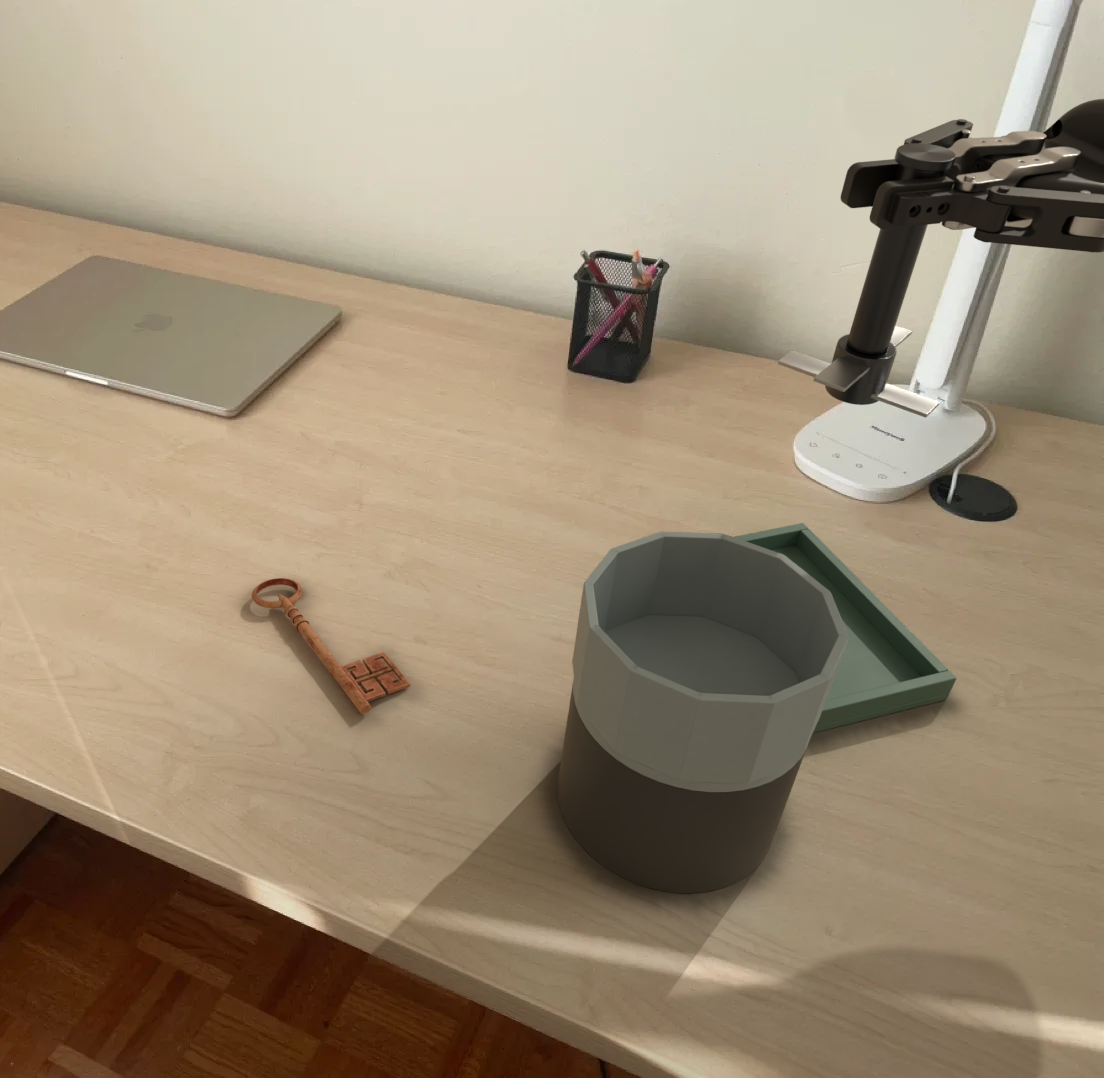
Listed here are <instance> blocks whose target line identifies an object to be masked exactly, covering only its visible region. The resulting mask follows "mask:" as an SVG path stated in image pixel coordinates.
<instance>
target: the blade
mask: <svg viewBox="0 0 1104 1078" xmlns="http://www.w3.org/2000/svg"><path fill="white" fill-rule="evenodd" d="M894 159H895V161H896V162H897V163H898V164H899V166H898V169H897V173H896V176H895V180H894V181H899V180H910V179H921V178H934V177H942V176H944V173H945V170H948V169H950V168H952V167H953V165H954V162H955V159H956V154H955V153H954V152H953V151H951V150H949V149H947V148H944V147H941V146H937V145H931V144H921V143H913V144H905V145H904V144H902V145H899V146H898V147H897V148H896V151H895V154H894ZM928 225H929V224H928ZM928 225H918V226H908V227H898V228H888V229H880V228H879V231H878V235H877V238H876V241H875V245H874V248H873V252H872V255H871V259H870V262H869V265H868V269H867V272H866V275H865V279H864V283H863V285H862V286H863V287H862V290H861V293H860V297H859V299H858V304H857V308H856V310H855V314H854V316H853V321H852V324H851V327H850V330H849V333H848V334H845V335H842V336H841V337H840V338H839V339H838V340H837V342H836V346H835V350H834V353H833V355H832V356H833V357H832V360H831V362H827V361H824V360H822V359H819V358H816V357H813V356H810V355H808V354H804V353H801V352H798V351H796V350H793V349H792V350H791V351H789V352H787V353H786V354H785V355H784V356H783V357H781V358H780V359H779V360H778V361H777V365H779V366H781V367H784V368H788V369H790V370H793V371H795V372H797V373H798V372H799V373H801V374H804V375H806V376H810V377H812V378H813V382H815V383H818V384H820V385H823V386H824V387H825V391H826V392H827V393H828V394H829V395H830V396H831V397H832V398H834V399H836V400H838V401H840V402H843V403H846V404H849V405H857V406H867V405H873V404H876V403H878V402H882V403H884V404H886V405H890V406H893V407H895V408H898V409H901V410H904V411H906V412H909V413H912V414H915V415H918V416H920V417H923V418H928V417H929V416H930V414H932V413H933V412H934V411H935V410H936V409H937V408H938V407H939V406H940V404H941V403H940V401H938V400H935V399H932V398H930V397H927V396H924V395H922V394H918V393H917V392H916V393H915V392H913V391H910V390H907V389H904V388H902V387H900V386H899V387H898V386H896V385H893V384H891V383H888V380H889V378H890V374H891V372H892V368H893V365H894V362H895V359H896V356H897V354H898V353H897V352H898V351H897V347H898V346H900V345H901V344H902V343H903V342H904V341H905V340H907V339H908V338H909V337H910V336H912V334H913V330H910V329H907V328H905V327H902V326H898V325H897V322H898V319H899V316H900V312H901V309H902V306H903V303H904V300H905V298H906V294H907V291H908V287H909V284H910V282H911V278H912V275H913V273H914V269H915V266H916V263H917V259H918V257H919V253H920V250H921V247H922V244H923V241H924V237H925V235H926V232H927V229H928Z"/></svg>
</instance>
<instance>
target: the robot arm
mask: <svg viewBox="0 0 1104 1078" xmlns="http://www.w3.org/2000/svg"><path fill="white" fill-rule="evenodd" d="M973 126H974V123H973V122H972V121H969V120H968V119H963V118H957V119H952V120H950V121H947V122H945V123H942V124H940V125H938V126H937V125H936V126H935V127H932V128H930V129H927V130H925V131H923V132H920V133H918V134H914V135H912V136H910V137H908V138H905V139H904V142H903V145H905V144H913V143H921V144H931V145H937V146H941V147H944V148H947V149H949V150H951V151H953V152H954V153H955V154H956V159H955V162H954V165H953V167H952V168H950V169H948V170H945V173H944V176H942V177H934V178H921V179H910V180H899V181H894V180H895V176H896V173H897V169H898V166H899V164H898V163H897V162H896V161H895V158H891V159H881V160H869V161H858V162H855V163H853V164H851V165H850V166H849V168H847V171H846V174H845V178H844V182H843V186H842V190H841V193H840V202H842V204H844V205H845V206H847V207H848V208H850V209H861V208H870V207H871V210H870V214H869V221H870V223H872V224H873V225H874V226H876V227H877V228H878V229H879V230H880V229H888V228H898V227H908V226H918V225H937V224H941V226H942V227H943V228H946V229H949V230H951V231H960V230H967V229H974V228H975V230H974V233H973V238H974V239H976V240H977V241H980V242H983V243H990V244H991V243H992V244H1001V245H1002V244H1003V245H1013V246H1023V247H1024V246H1025V247H1032V248H1033V247H1034V248H1042V249H1043V248H1045V249H1056V250H1066V251H1077V252H1086V253H1087V252H1088V253H1103V252H1104V98H1098V99H1091V100H1087V101H1086V102H1081V103H1080V104H1078V105H1076V106H1074V107H1072V108H1070V109H1069V110H1068V111H1066V112H1065V113H1063V114H1062V115H1061V116H1060V117H1059V118H1058V119H1057V120H1056V121H1055V122H1054V123H1053V124H1052V125H1050V126H1049V127H1048V128H1047V129H1045V131H1044V132H1040V131H1035V130H1017V131H1011V132H1009V133H1007V134H1006V135H1002V136H990V137H989V136H988V137H970V136H971V133H972V130H973Z"/></svg>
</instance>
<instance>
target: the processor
mask: <svg viewBox="0 0 1104 1078" xmlns="http://www.w3.org/2000/svg"><path fill="white" fill-rule="evenodd" d="M734 537H735V536H731V535H728V534H725V533H720V532H719V533H718V532H714V533H713V532H693V531H691V532H690V531H689V532H688V531H658V532H656V533H652V534H650V535H647V536H643V537H640V538H639V539H638V538H637V539H635V540H632V541H630V542H626V543H624V544H620V545H618V546H615V547H611V548H610V549H609V550H608V552H607V553H606V554H605V555H604V557H603V558H602V560H601V561H600V562H599V563H598V564H597V566H596V567H594V569H593V571H592V572H591V573H590V574H589V576H588V577H587V578H586V579H585V581H584V582H583V585H582V594H581V600H580V607H579V614H578V618H577V619H578V620H577V628H576V634H575V640H574V648H573V654H572V661H571V662H572V673H573V679H572V685H571V691H570V699H569V705H568V712H567V719H566V725H565V733H564V739H563V745H562V752H561V759H560V766H559V772H558V777H557V798H558V799H557V800H558V804H559V805H558V806H559V808H560V811H561V815H562V818H563V820H564V822H565V824H566V826H567V828H568V829H569V831H570V833H571V834H572V836H573V837H574V838H575V840H576V841H577V843H578V844H579V845H580V846H581V847H582V848H583V850H584V851H585V852H586V853H587V854H588V855H590V857H592V858H593V859H594V860H595V861H596V862H597V863H599V864H600V865H602V866H603V867H604V868H606V869H607V870H609V871H610V872H612V873H613V874H615V875H617V876H619V877H621V878H623V879H625V880H627V881H630V882H632V883H634V884H637V885H640V886H643V887H645V888H649V889H652V890H657V891H661V892H666V893H667V892H668V893H676V894H700V893H707V892H713V891H716V890H720V889H724V888H727V887H729V886H731V885H734V884H736V883H738V882H739V881H741V880H743V879H745V878H746V877H748V876H749V875H750V874H751V873H753V872H754V870H756V869H757V868H758V867H759V866H760V865H761V863H762V862H763V861H764V860H765V858H766V857H767V854H768V853H769V851H770V849H771V847H772V843H773V842H774V838H775V836H776V832H777V830H778V827H779V825H780V822H781V819H782V817H783V814H784V811H785V808H786V806H787V803H788V800H789V797H790V795H791V792H792V789H793V786H794V784H795V781H796V778H797V776H798V773H799V771H800V768H801V765H802V762H803V759H804V756H805V754H806V751H807V748H808V745H809V743H810V740H811V739H812V735H813V734H814V733H813V731H814V729H815V727H816V725H817V722H818V720H819V718H820V715H821V713H822V710H823V707H824V705H825V702H826V699H827V697H828V694H829V691H830V688H831V686H832V683H833V680H834V678H835V675H836V672H837V670H838V667H839V664H840V661H841V659H842V656H843V653H844V651H845V648H846V645H847V642H848V640H849V637H848V634H847V632H846V629H845V627H844V624H843V622H842V619H841V617H840V614H839V612H838V609H837V607H836V604H835V602H834V599H833V597H832V594H831V592H830V591H829V590H827V589H826V588H825V587H824V586H823V585H821V584H820V583H819V582H818V581H816V580H815V579H814V578H813V577H811V576H810V575H809V574H808V573H806V572H805V571H804V570H803V569H801V568H800V567H799V566H798V565H796V564H795V563H794V562H793V561H791V560H790V559H789V558H788V557H786V556H785V555H783V554H780V553H777V552H774V551H772V550H769V549H766V548H763V547H760V546H757V545H754V544H752V543H749V542H746V541H743V540H740V539H737V538H734Z"/></svg>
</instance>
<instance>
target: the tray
mask: <svg viewBox="0 0 1104 1078" xmlns="http://www.w3.org/2000/svg"><path fill="white" fill-rule="evenodd" d="M733 537H734V538H737V539H740V540H743V541H746V542H749V543H752V544H754V545H757V546H760V547H763V548H766V549H769V550H772V551H774V552H777V553H780V554H783V555H785V556H786V557H788V558H789V559H790V560H791V561H793V562H794V563H795V564H796V565H798V566H799V567H800V568H801V569H803V570H804V571H805V572H806V573H808V574H809V575H810V576H811V577H813V578H814V579H815V580H816V581H818V582H819V583H820V584H821V585H823V586H824V587H825V588H826V589H827V590H829V591H830V592H831V594H832V597H833V599H834V602H835V604H836V607H837V609H838V612H839V614H840V617H841V619H842V622H843V624H844V627H845V629H846V632H847V634H848V637H849V640H848V642H847V645H846V648H845V651H844V653H843V656H842V659H841V661H840V664H839V667H838V670H837V672H836V675H835V678H834V680H833V683H832V686H831V688H830V691H829V694H828V697H827V699H826V702H825V705H824V707H823V710H822V713H821V715H820V718H819V720H818V722H817V725H816V727H815V729H814V731H813V733H812V734H815V733H819V732H822V731H827V730H830V729H834V728H838V727H842V726H846V725H847V726H848V725H850V724H855V723H858V722H862V721H867V720H870V719H875V718H878V717H882V716H886V715H890V714H895V713H899V712H903V711H906V710H911V709H915V708H919V707H922V706H927V705H931V704H934V703H939V702H943V701H946V700H947V699H948V698H949V696H950V693H951V691H952V689H953V687H954V685H955V682H956V681H957V676H955V675H954V674H953V672H952V671H951V670H949V668H948V667H947V666H946V665H945V664H944V663H942V661H940V659H939V658H937V656H936V655H935V654H934V653H933V652H932V651H931V650H929V648H928V647H927V646H926V645H925V644H924V643H923V642H922V641H921V640H920V639H919V638H918V637H917V636H916V635H915V634H914V633H913V632H912V631H911V630H910V629H909V628H908V626H907V625H905V624H904V623H903V622H902V621H901V620H900V619H899V618H898V617H897V615H895V614H894V613H893V612H892V610H890V609H889V608H888V607H887V606H886V605H885V604H884V603H883V602H882V601H881V600H880V598H878V596H877V595H875V593H874V592H873V591H871V590H870V588H868V587H867V585H866V584H864V582H863V581H862V580H860V578H859V577H857V576H856V575H855V573H853V572H852V570H851V569H850V568H848V566H847V565H846V564H845V563H844V562H842V561H841V559H840V558H839V557H838V556H837V555H836V554H835V553H834V552H833V551H832V550H831V549H830V548H829V547H828V546H827V545H826V544H825V543H824V542H823V541H822V540H821V539H820V538H819V537H818V536H817V535H816V534H815V533H814V531H812V530H811V529H810V528H809V527H808V526H807V525H806V524H805V523H804V522H800V523H795V524H790V525H786V526H780V527H776V528H775V527H774V528H771V529H765V530H760V531H756V532H751V533H746V534H741V535H736V536H733Z"/></svg>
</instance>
